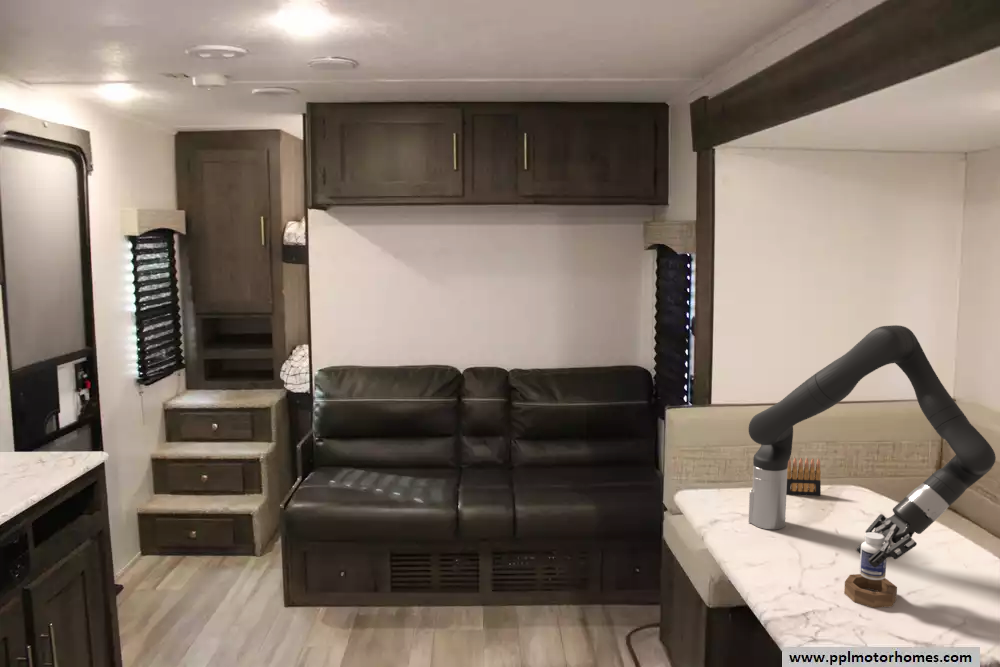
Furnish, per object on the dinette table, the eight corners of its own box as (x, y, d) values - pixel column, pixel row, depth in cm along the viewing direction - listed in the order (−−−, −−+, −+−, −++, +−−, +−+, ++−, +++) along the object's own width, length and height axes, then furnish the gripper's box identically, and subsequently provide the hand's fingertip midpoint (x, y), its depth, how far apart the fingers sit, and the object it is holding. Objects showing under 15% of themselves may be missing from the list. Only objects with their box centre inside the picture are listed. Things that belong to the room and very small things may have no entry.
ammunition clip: (819, 494, 244) (821, 457, 242) (820, 496, 242) (822, 459, 240) (783, 492, 246) (785, 456, 244) (785, 494, 244) (786, 458, 242)
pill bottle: (888, 581, 174) (890, 540, 173) (862, 580, 175) (864, 539, 174) (881, 571, 180) (883, 531, 178) (856, 569, 181) (858, 530, 179)
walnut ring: (840, 598, 178) (841, 586, 177) (852, 581, 185) (853, 570, 185) (888, 611, 171) (889, 599, 171) (899, 594, 179) (900, 582, 179)
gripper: (894, 486, 182) (840, 535, 184) (926, 508, 167) (868, 561, 169) (915, 507, 182) (862, 555, 184) (949, 531, 168) (891, 584, 170)
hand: (865, 558), depth 177 cm, fingers closed on pill bottle, 5 cm apart
